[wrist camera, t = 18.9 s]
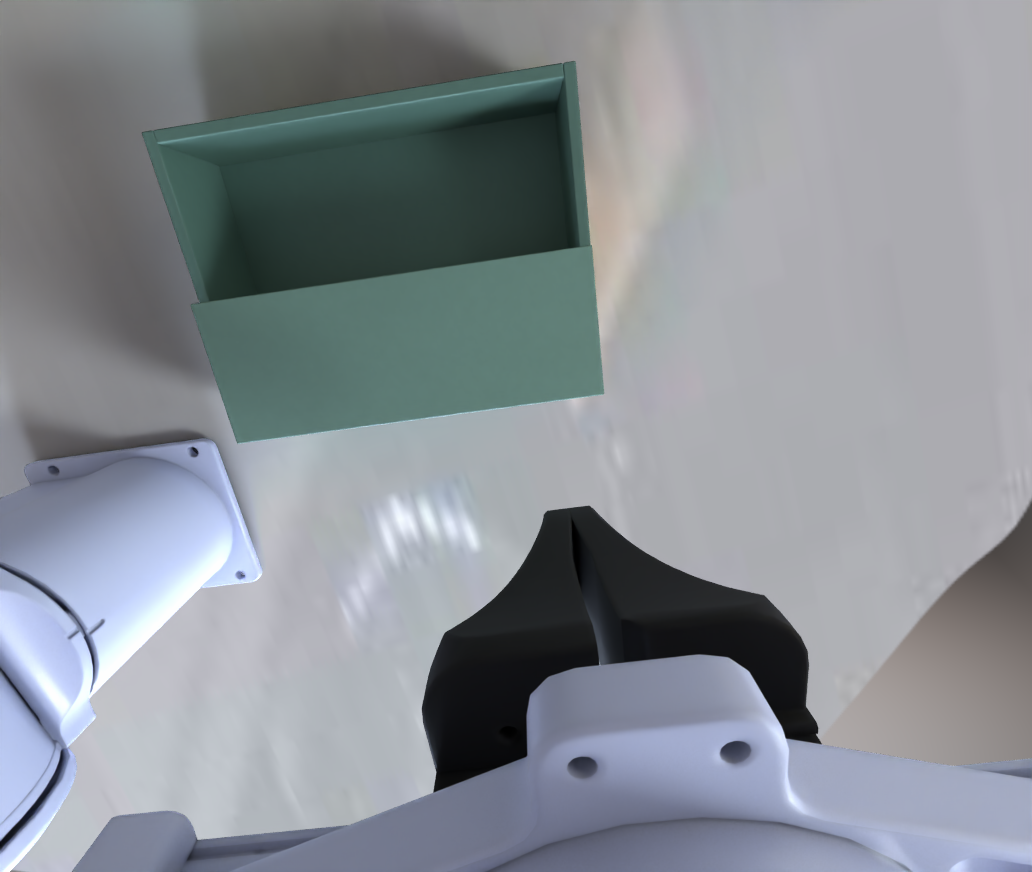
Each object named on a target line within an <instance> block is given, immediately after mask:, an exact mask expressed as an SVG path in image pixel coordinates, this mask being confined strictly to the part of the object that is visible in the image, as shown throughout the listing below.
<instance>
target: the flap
mask: <svg viewBox="0 0 1032 872" xmlns="http://www.w3.org/2000/svg"><path fill="white" fill-rule="evenodd" d="M191 307H192V310H193V313H194V316H195V319H196V322H197V325H198V328H199V331H200V334H201V337H202V340H203V343H204V346H205V349H206V352H207V355H208V358H209V361H210V364H211V367H212V370H213V373H214V376H215V379H216V382H217V385H218V388H219V391H220V394H221V397H222V400H223V403H224V406H225V409H226V412H227V415H228V418H229V420H230V423H231V426H232V429H233V432H234V435H235V438H236V441H237V444H240V443H247V442H254V441H262V440H269V439H277V438H284V437H292V436H299V435H307V434H314V433H321V432H329V431H336V430H344V429H351V428H359V427H366V426H374V425H381V424H388V423H396V422H403V421H411V420H418V419H426V418H433V417H441V416H448V415H455V414H463V413H470V412H478V411H485V410H493V409H500V408H508V407H515V406H522V405H530V404H537V403H545V402H552V401H560V400H567V399H575V398H582V397H589V396H597V395H603V394H604V386H603V374H602V362H601V350H600V338H599V326H598V314H597V302H596V290H595V278H594V266H593V254H592V245H588V246H581V247H574V248H568V249H561V250H554V251H547V252H541V253H534V254H527V255H520V256H514V257H507V258H500V259H493V260H487V261H480V262H473V263H466V264H459V265H453V266H446V267H439V268H432V269H426V270H419V271H412V272H405V273H399V274H392V275H385V276H378V277H372V278H365V279H358V280H351V281H345V282H338V283H331V284H324V285H317V286H311V287H304V288H297V289H290V290H284V291H277V292H270V293H263V294H257V295H250V296H243V297H236V298H230V299H223V300H216V301H209V302H203V303H196V304H191Z"/></svg>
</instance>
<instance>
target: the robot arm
mask: <svg viewBox="0 0 1032 872" xmlns="http://www.w3.org/2000/svg"><path fill="white" fill-rule="evenodd" d="M192 447H194V448H196V449H197V451H198V454H196V453H195V452H194V451H193V450H192ZM56 467H57V468H58V469H59V471H58V470H57V469H56ZM24 472H25V475H26V477H27V479H28V481H29V483H30V486H28V487H25V488H23V489H21V490H18V491H16V492H14V493H11V494H9V495H7V496H5V497H2V498H0V872H9V871H11V870H12V869H13V867H14V866H15V865H16V864H17V863H18V862H19V861H20V860H21V859H22V858H23V857H24V856H25V855H26V853H27V852H28V851H29V850H30V849H31V847H32V846H33V845H34V844H35V843H36V841H37V840H38V839H39V838H40V836H41V835H42V834H43V832H44V831H45V829H46V828H47V827H48V825H49V824H50V822H51V820H52V819H53V817H54V815H55V814H56V812H57V811H58V810H59V808H60V806H61V805H62V803H63V801H64V800H65V798H66V796H67V794H68V793H69V791H70V788H71V786H72V784H73V781H74V779H75V775H76V769H77V764H76V759H75V756H74V754H73V753H72V752H71V750H70V749H69V748H68V746H69V745H70V744H71V743H72V742H73V741H74V740H75V739H76V738H77V737H78V736H79V735H80V734H81V733H82V732H83V730H84V729H85V728H86V727H87V726H88V725H89V724H90V723H91V722H92V721H93V720H94V719H95V718H96V714H95V712H94V710H93V709H92V707H91V704H90V700H89V698H90V697H91V696H92V695H93V694H94V693H95V692H96V691H97V690H98V689H99V688H100V687H101V686H102V685H103V684H104V683H105V682H106V681H107V680H108V679H109V678H110V677H111V676H112V675H113V674H114V673H115V672H116V671H117V670H118V669H119V668H120V667H121V666H122V665H123V664H124V663H125V662H126V661H127V660H128V659H129V658H130V657H131V656H132V655H133V654H134V653H135V652H136V651H137V650H138V649H139V648H140V647H141V646H142V645H143V644H144V643H145V642H146V641H147V640H148V639H149V638H150V637H151V636H152V635H153V634H154V633H155V632H156V631H157V630H158V629H159V628H160V627H161V626H162V625H163V624H164V623H165V622H166V621H167V620H168V619H169V618H170V617H171V616H172V615H173V614H174V613H175V612H176V611H177V610H178V609H179V608H180V607H181V606H182V605H183V604H184V603H185V602H186V601H187V600H188V599H189V598H190V597H191V596H192V595H193V594H194V593H195V592H196V591H197V590H198V589H199V588H204V587H213V586H221V585H229V584H237V583H246V582H253V581H256V580H257V579H258V578H259V577H260V576H261V574H262V569H261V566H260V563H259V560H258V558H257V555H256V552H255V549H254V547H253V544H252V541H251V538H250V536H249V533H248V530H247V527H246V525H245V522H244V519H243V516H242V514H241V511H240V508H239V505H238V503H237V500H236V497H235V495H234V492H233V489H232V486H231V484H230V481H229V478H228V475H227V473H226V470H225V467H224V464H223V462H222V459H221V456H220V453H219V451H218V448H217V446H216V444H215V443H214V442H213V441H212V440H210V439H205V438H203V439H196V440H188V441H181V442H173V443H166V444H159V445H151V446H144V447H136V448H129V449H122V450H114V451H107V452H99V453H92V454H85V455H77V456H70V457H62V458H55V459H48V460H40V461H35V462H32V463H30V464H27V465H26V466H25V469H24ZM239 571H241V572H243V573H244V574H245V575H242V574H241V573H240V572H239ZM599 661H600V665H599ZM808 670H809V662H808V651H807V649H806V647H805V645H804V643H803V641H802V638H801V637H800V635H799V634H798V633H797V632H796V630H795V629H794V628H793V627H792V625H791V624H790V623H789V621H788V620H787V619H786V618H785V617H784V616H783V614H782V613H781V612H780V611H779V610H778V609H777V608H776V607H775V606H774V605H773V604H772V603H771V602H770V601H769V600H768V599H767V598H766V597H765V596H764V595H760V594H755V593H751V592H746V591H742V590H737V589H733V588H728V587H725V586H722V585H718V584H715V583H712V582H709V581H705V580H703V579H700V578H697V577H694V576H692V575H689V574H687V573H685V572H682V571H680V570H678V569H675V568H673V567H671V566H669V565H667V564H665V563H663V562H661V561H659V560H658V559H656V558H654V557H652V556H650V555H649V554H647V553H645V552H644V551H642V550H641V549H639V548H638V547H636V546H635V545H633V544H632V543H631V542H629V541H628V540H627V539H625V538H624V537H623V536H622V535H621V534H619V533H618V532H617V531H616V530H615V529H614V528H612V527H611V526H610V525H609V524H608V523H607V522H606V521H605V520H604V519H603V518H602V517H601V516H600V515H599V514H598V513H597V512H596V511H595V510H594V509H593V508H592V507H590V506H583V507H575V508H567V509H558V510H550V511H547V512H546V513H545V514H544V518H543V522H542V525H541V528H540V531H539V534H538V536H537V538H536V540H535V542H534V545H533V547H532V549H531V550H530V552H529V554H528V556H527V557H526V559H525V561H524V563H523V564H522V566H521V567H520V569H519V570H518V572H517V573H516V574H515V576H514V577H513V578H512V580H511V581H510V582H509V583H508V584H507V586H506V587H505V588H504V589H503V590H502V591H501V592H500V593H499V594H498V595H497V596H496V597H495V598H494V599H493V600H492V601H491V602H489V603H488V604H487V605H486V606H485V607H483V608H482V609H481V610H479V611H478V612H477V613H476V614H474V615H473V616H471V617H470V618H468V619H467V620H465V621H463V622H462V623H460V624H459V625H457V626H455V627H454V628H452V629H451V630H449V631H447V632H445V634H444V635H443V638H442V640H441V642H440V645H439V647H438V650H437V652H436V655H435V658H434V660H433V663H432V666H431V669H430V672H429V676H428V680H427V685H426V690H425V695H424V700H423V705H422V715H423V724H424V728H425V731H426V735H427V739H428V742H429V746H430V750H431V754H432V757H433V761H434V765H435V769H436V772H437V773H436V779H435V785H434V792H433V793H432V794H429V795H426V796H424V797H421V798H419V799H416V800H413V801H411V802H408V803H406V804H403V805H400V806H398V807H395V808H393V809H390V810H388V811H385V812H382V813H380V814H377V815H375V816H372V817H369V818H367V819H364V820H362V821H359V822H356V823H354V824H351V825H346V826H336V827H326V828H315V829H305V830H295V831H285V832H275V833H264V834H254V835H244V836H234V837H224V838H213V839H203V840H197V837H196V834H195V831H194V828H193V826H192V824H191V822H190V821H189V819H188V818H187V817H186V816H185V815H183V814H181V813H178V812H176V811H159V812H149V813H139V814H129V815H119V816H116V817H113V818H111V820H110V821H109V822H108V824H107V825H106V826H105V828H104V829H103V830H102V832H101V833H100V834H99V836H98V837H97V838H96V840H95V841H94V842H93V844H92V845H91V846H90V848H89V849H88V851H87V852H86V853H85V855H84V856H83V857H82V859H81V860H80V861H79V863H78V864H77V865H76V867H75V868H74V869H73V871H72V872H1032V758H1030V759H1020V760H1009V761H999V762H989V763H980V764H969V765H959V766H950V765H944V764H938V763H931V762H926V761H920V760H914V759H907V758H901V757H895V756H889V755H883V754H877V753H871V752H865V751H859V750H852V749H846V748H840V747H834V746H828V745H822V744H821V742H820V740H819V739H818V737H817V736H816V734H818V726H817V723H816V721H815V719H814V718H813V716H812V715H811V713H810V712H809V710H808V709H807V707H806V695H807V683H808Z"/></svg>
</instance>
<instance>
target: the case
mask: <svg viewBox="0 0 1032 872" xmlns="http://www.w3.org/2000/svg"><path fill="white" fill-rule="evenodd" d="M142 135H143V138H144V141H145V144H146V147H147V150H148V153H149V156H150V159H151V162H152V164H153V167H154V170H155V173H156V176H157V179H158V182H159V185H160V188H161V191H162V194H163V197H164V200H165V203H166V205H167V208H168V211H169V214H170V217H171V220H172V223H173V226H174V229H175V232H176V235H177V238H178V241H179V244H180V246H181V249H182V252H183V255H184V258H185V261H186V264H187V267H188V270H189V273H190V276H191V279H192V282H193V284H194V287H195V290H196V293H197V296H198V299H199V302H200V303H203V302H209V301H216V300H223V299H230V298H236V297H243V296H250V295H257V294H263V293H270V292H277V291H284V290H290V289H297V288H304V287H311V286H317V285H324V284H331V283H338V282H345V281H351V280H358V279H365V278H372V277H378V276H385V275H392V274H399V273H405V272H412V271H419V270H426V269H432V268H439V267H446V266H453V265H459V264H466V263H473V262H480V261H487V260H493V259H500V258H507V257H514V256H520V255H527V254H534V253H541V252H547V251H554V250H561V249H568V248H574V247H581V246H588V245H590V233H589V221H588V209H587V197H586V184H585V172H584V160H583V147H582V135H581V123H580V110H579V98H578V86H577V74H576V62H575V61H571V62H565V63H563V64H562V63H559V64H553V65H547V66H541V67H535V68H529V69H523V70H517V71H511V72H504V73H498V74H492V75H486V76H480V77H474V78H468V79H462V80H456V81H450V82H444V83H438V84H432V85H426V86H419V87H413V88H407V89H401V90H395V91H389V92H383V93H377V94H371V95H365V96H359V97H353V98H347V99H340V100H334V101H328V102H322V103H316V104H310V105H304V106H298V107H292V108H286V109H280V110H274V111H268V112H262V113H255V114H249V115H243V116H237V117H231V118H225V119H219V120H213V121H207V122H201V123H195V124H189V125H183V126H176V127H170V128H164V129H158V130H154V131H146V132H142Z"/></svg>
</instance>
